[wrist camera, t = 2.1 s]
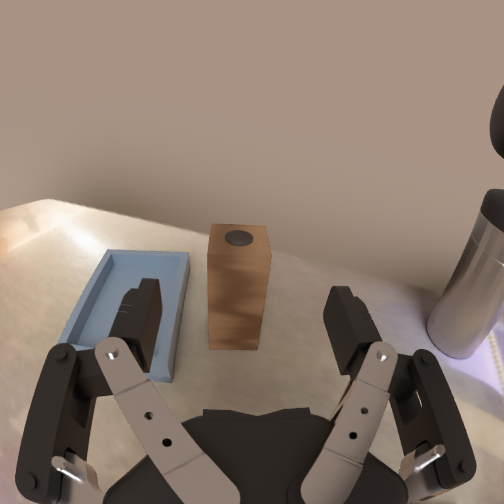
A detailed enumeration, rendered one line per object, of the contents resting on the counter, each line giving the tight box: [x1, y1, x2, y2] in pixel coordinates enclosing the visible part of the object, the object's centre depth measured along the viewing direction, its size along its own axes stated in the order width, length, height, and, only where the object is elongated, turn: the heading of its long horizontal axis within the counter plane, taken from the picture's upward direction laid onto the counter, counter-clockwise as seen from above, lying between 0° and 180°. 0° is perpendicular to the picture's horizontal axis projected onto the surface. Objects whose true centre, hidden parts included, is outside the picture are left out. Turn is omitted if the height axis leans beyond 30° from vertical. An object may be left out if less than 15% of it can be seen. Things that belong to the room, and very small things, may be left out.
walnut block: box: [207, 224, 272, 350], centre depth 28 cm, size 5×5×12 cm
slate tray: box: [57, 249, 190, 383], centre depth 31 cm, size 12×18×3 cm, turn 3°
